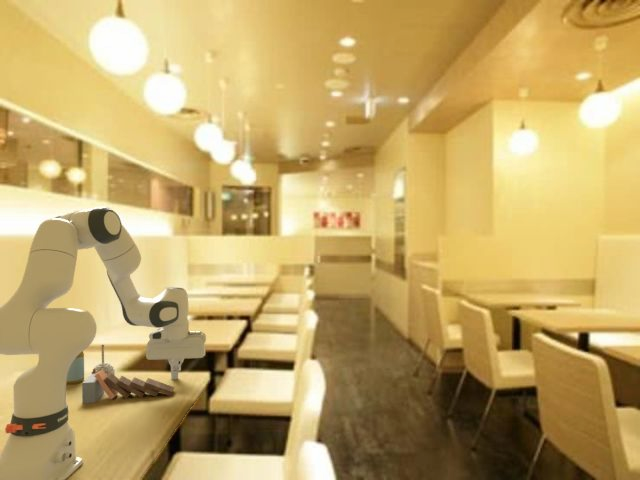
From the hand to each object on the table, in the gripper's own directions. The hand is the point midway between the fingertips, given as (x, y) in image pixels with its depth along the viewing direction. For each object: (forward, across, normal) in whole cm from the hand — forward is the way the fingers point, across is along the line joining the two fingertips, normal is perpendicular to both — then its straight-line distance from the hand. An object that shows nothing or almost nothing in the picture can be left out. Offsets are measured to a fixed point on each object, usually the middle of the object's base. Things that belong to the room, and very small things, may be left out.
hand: (176, 370), depth 171 cm
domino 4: (+7, +6, 0) cm, 10 cm away
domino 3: (+8, +11, 0) cm, 13 cm away
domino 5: (+7, +1, 0) cm, 7 cm away
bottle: (+8, +42, -20) cm, 47 cm away
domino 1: (+8, +21, +1) cm, 22 cm away
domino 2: (+8, +16, 0) cm, 18 cm away
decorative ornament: (+8, +30, -15) cm, 34 cm away
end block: (+8, +28, +1) cm, 29 cm away
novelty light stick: (+8, +4, -18) cm, 20 cm away
